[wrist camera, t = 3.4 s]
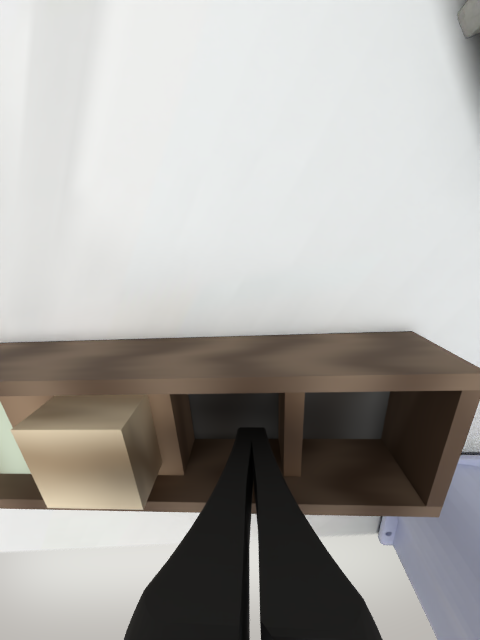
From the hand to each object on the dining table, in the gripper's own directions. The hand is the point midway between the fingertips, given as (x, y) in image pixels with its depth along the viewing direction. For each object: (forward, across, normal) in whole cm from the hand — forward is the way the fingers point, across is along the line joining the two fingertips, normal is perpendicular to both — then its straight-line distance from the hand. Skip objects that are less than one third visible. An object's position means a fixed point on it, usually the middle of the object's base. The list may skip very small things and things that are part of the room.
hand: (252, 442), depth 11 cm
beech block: (+1, +8, 0) cm, 8 cm away
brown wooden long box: (+4, +7, 0) cm, 8 cm away
